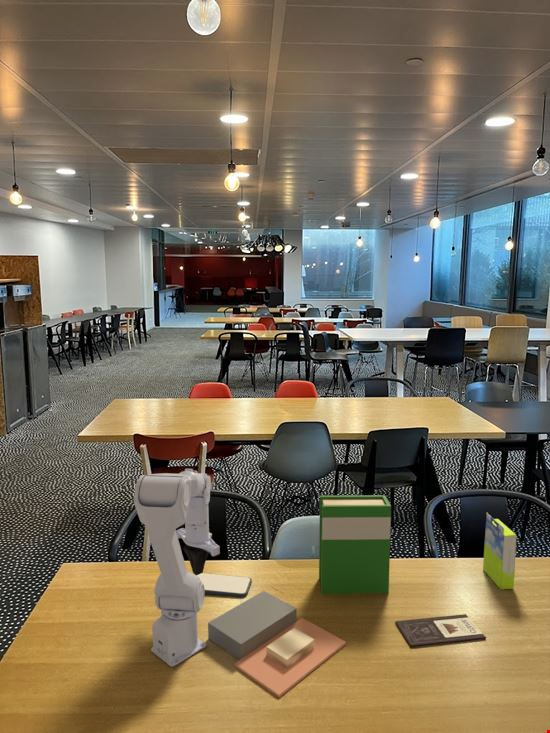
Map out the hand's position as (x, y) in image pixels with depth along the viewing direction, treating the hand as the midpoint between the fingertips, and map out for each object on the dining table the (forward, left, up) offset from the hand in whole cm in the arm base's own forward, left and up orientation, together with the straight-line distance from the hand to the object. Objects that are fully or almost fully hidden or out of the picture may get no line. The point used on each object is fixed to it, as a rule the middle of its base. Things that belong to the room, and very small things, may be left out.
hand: (198, 573), depth 133 cm
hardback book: (+35, -22, -10) cm, 42 cm away
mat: (+3, -29, -9) cm, 30 cm away
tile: (+3, -28, -8) cm, 29 cm away
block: (+3, -17, -9) cm, 19 cm away
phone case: (+10, +4, -10) cm, 15 cm away
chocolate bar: (+33, -48, -10) cm, 59 cm away
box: (+65, -49, -10) cm, 82 cm away
